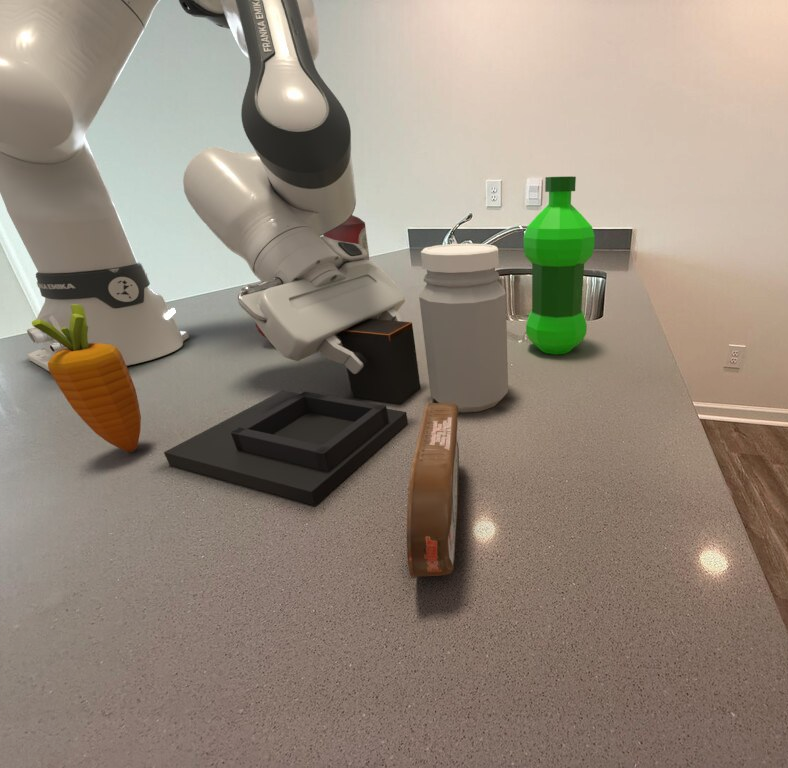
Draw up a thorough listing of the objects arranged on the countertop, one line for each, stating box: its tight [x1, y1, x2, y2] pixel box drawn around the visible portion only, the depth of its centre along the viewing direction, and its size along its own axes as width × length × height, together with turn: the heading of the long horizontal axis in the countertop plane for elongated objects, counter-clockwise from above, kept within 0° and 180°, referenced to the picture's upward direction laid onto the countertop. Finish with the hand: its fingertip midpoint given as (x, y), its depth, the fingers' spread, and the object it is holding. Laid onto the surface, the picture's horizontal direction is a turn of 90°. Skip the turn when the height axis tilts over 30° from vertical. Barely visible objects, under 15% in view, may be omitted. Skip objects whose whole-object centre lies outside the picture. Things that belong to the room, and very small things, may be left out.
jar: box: [418, 243, 509, 414], centre depth 47 cm, size 10×10×18 cm
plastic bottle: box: [523, 176, 596, 355], centre depth 61 cm, size 10×10×25 cm
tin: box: [406, 401, 460, 579], centre depth 30 cm, size 15×3×8 cm, turn 5°
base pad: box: [163, 390, 409, 506], centre depth 42 cm, size 18×14×4 cm
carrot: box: [31, 304, 142, 453], centre depth 39 cm, size 5×5×15 cm
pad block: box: [339, 319, 421, 405], centre depth 51 cm, size 7×5×9 cm
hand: (386, 354), depth 51 cm, fingers open, 8 cm apart
